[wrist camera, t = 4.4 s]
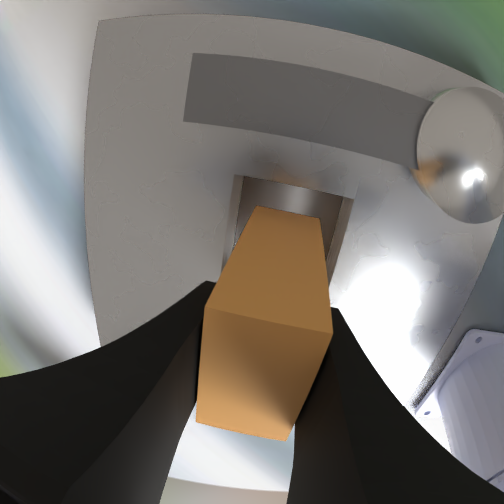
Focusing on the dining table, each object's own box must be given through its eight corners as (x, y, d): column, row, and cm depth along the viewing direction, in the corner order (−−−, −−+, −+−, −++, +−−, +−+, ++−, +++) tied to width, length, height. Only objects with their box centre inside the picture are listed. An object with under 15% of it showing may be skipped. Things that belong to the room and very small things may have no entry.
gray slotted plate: (499, 105, 10) (549, 111, 7) (387, 390, 18) (395, 438, 15) (127, 29, 12) (77, 15, 8) (120, 332, 20) (91, 372, 16)
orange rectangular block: (319, 218, 12) (333, 334, 6) (297, 304, 14) (286, 441, 8) (255, 205, 12) (204, 307, 6) (241, 292, 14) (195, 422, 8)
